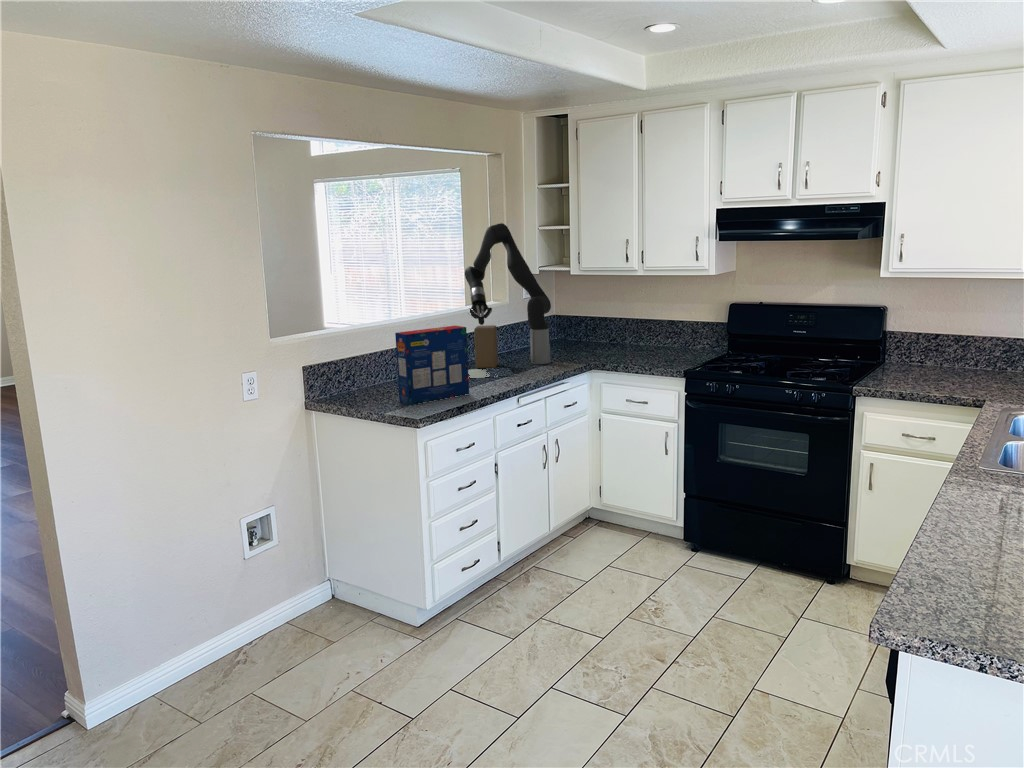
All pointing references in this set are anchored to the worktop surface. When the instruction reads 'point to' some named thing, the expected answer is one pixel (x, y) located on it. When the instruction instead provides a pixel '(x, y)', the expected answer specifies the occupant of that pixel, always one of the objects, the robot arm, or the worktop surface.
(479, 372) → the mat
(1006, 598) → the worktop surface
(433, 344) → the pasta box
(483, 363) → the wooden block
